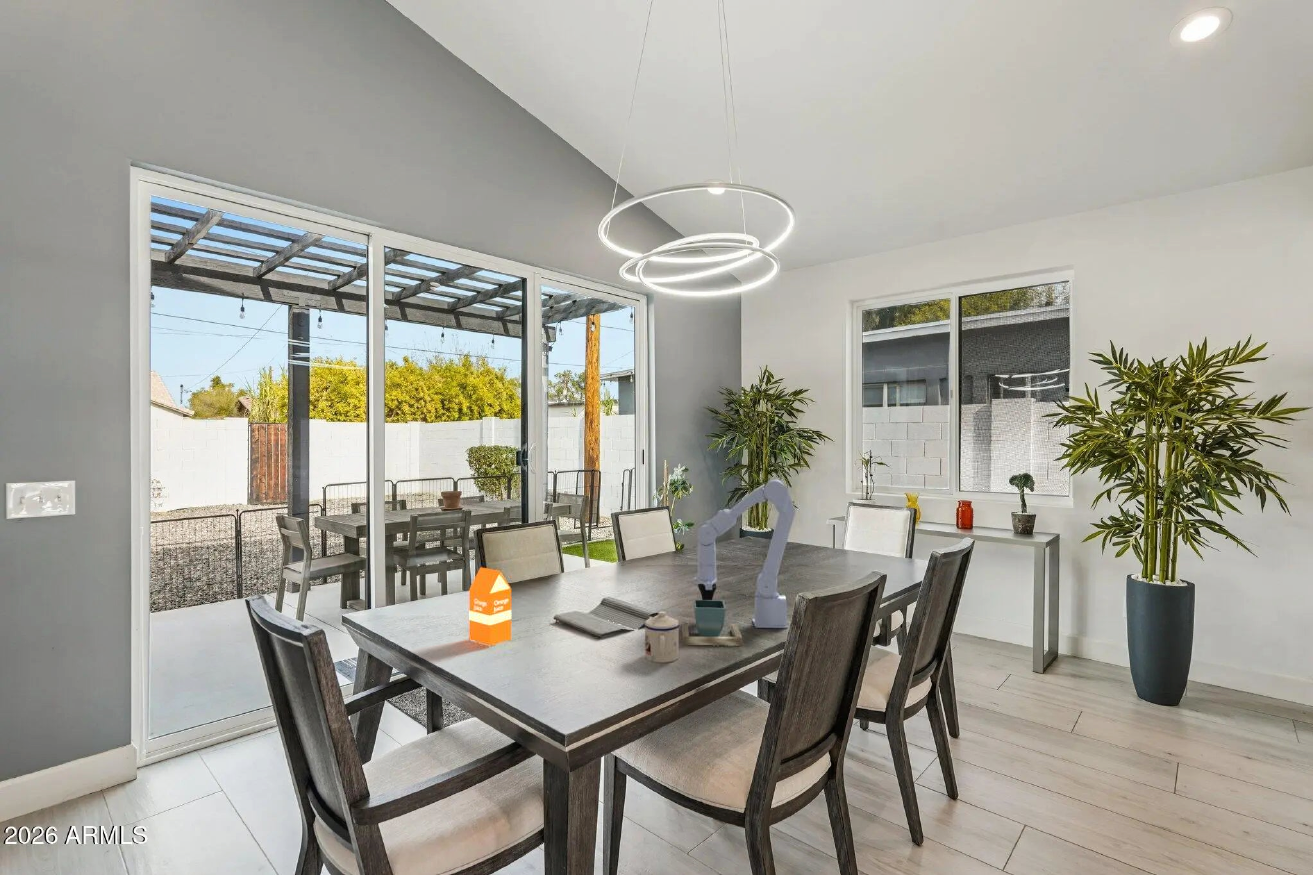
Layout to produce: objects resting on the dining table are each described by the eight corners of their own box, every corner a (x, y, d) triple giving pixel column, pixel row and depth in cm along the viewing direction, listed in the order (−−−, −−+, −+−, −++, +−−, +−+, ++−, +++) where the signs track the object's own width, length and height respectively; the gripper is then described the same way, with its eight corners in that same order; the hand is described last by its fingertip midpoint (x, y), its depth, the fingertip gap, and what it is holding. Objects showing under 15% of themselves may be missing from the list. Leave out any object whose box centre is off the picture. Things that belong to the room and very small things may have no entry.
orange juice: (491, 634, 179) (491, 565, 179) (511, 639, 174) (511, 568, 174) (468, 641, 172) (468, 569, 173) (489, 647, 167) (489, 573, 167)
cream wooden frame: (736, 630, 183) (736, 623, 183) (742, 645, 169) (742, 638, 169) (682, 630, 183) (682, 623, 183) (683, 645, 169) (683, 638, 169)
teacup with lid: (644, 651, 165) (644, 607, 165) (678, 651, 165) (678, 607, 165) (643, 667, 153) (643, 620, 153) (680, 667, 153) (680, 620, 153)
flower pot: (723, 630, 183) (723, 599, 183) (725, 639, 174) (725, 607, 174) (693, 629, 183) (693, 599, 183) (694, 639, 174) (694, 607, 174)
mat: (552, 624, 190) (552, 609, 190) (611, 609, 206) (611, 595, 206) (599, 642, 173) (599, 625, 173) (660, 625, 190) (660, 609, 190)
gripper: (692, 559, 199) (693, 601, 199) (695, 568, 185) (695, 614, 185) (714, 559, 199) (714, 601, 199) (718, 568, 185) (719, 614, 185)
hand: (707, 607), depth 192 cm, fingers closed
